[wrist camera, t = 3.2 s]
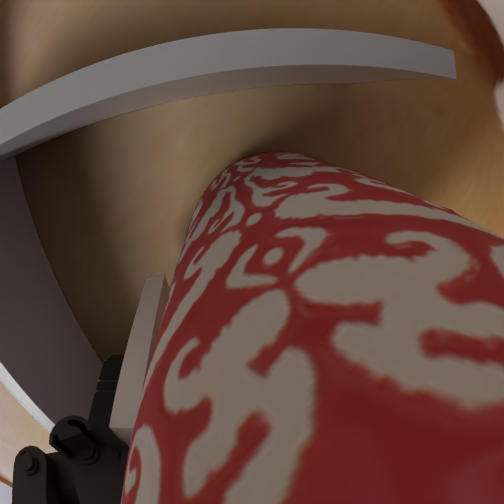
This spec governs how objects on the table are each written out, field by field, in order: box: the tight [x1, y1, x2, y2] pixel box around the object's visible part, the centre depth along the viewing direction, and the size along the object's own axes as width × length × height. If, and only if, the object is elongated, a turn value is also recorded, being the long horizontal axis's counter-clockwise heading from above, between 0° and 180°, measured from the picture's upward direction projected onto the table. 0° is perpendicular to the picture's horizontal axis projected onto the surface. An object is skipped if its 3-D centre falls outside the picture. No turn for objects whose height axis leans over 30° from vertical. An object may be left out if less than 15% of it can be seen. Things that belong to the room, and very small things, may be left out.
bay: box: [0, 28, 457, 433], centre depth 11 cm, size 16×17×6 cm
